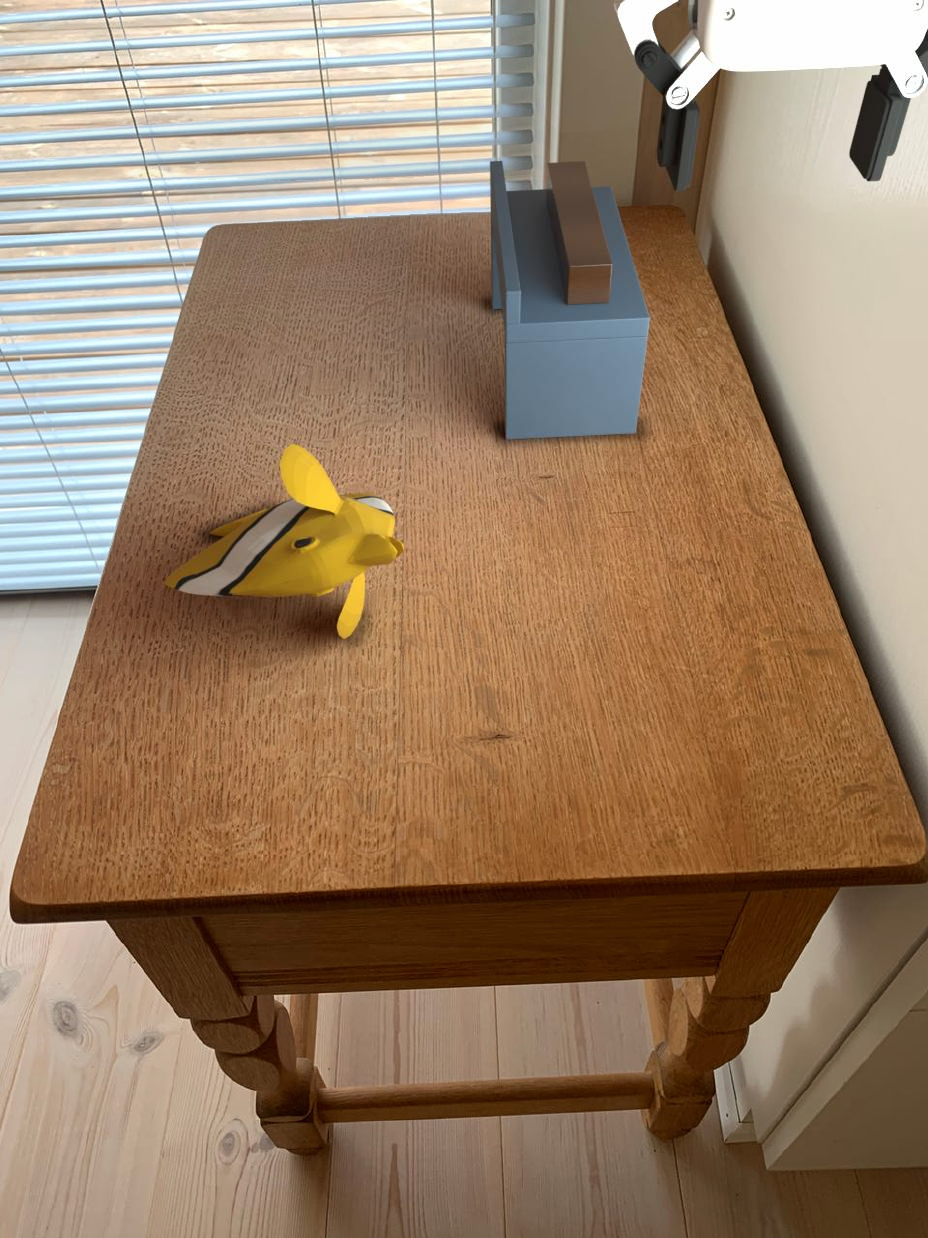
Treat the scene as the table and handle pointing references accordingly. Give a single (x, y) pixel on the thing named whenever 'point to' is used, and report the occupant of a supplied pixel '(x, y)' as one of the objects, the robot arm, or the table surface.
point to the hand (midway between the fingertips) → (770, 174)
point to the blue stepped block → (563, 324)
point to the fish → (298, 544)
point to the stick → (578, 234)
